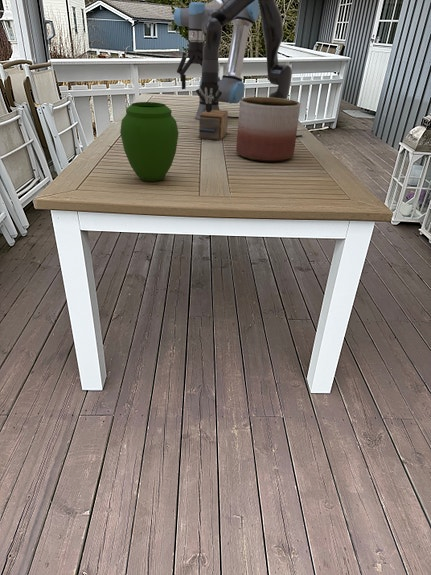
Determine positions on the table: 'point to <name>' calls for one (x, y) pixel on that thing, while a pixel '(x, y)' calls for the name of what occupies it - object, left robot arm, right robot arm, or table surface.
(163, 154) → the vase
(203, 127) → the drawer
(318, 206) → the table surface
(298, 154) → the table surface
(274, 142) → the planter
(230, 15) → the right robot arm
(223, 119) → the tan rectangular mottled block
